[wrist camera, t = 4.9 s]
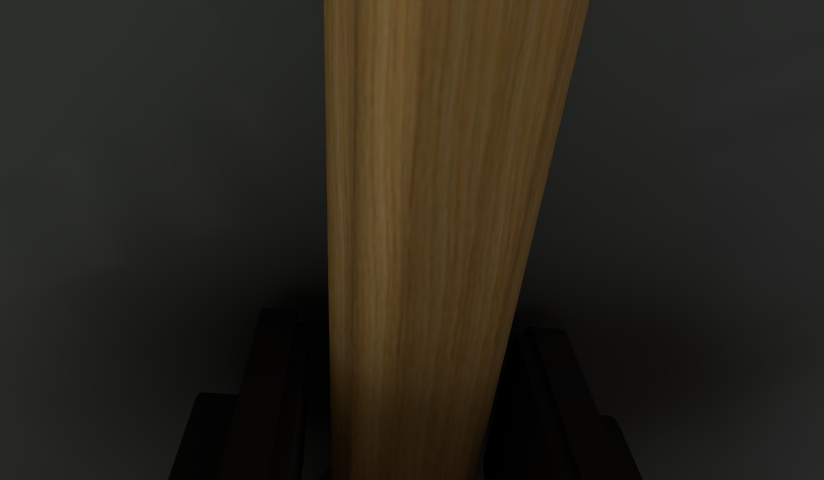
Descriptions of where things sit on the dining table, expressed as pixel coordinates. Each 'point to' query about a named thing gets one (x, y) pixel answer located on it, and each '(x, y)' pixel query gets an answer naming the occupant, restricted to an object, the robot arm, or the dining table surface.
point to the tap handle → (432, 216)
